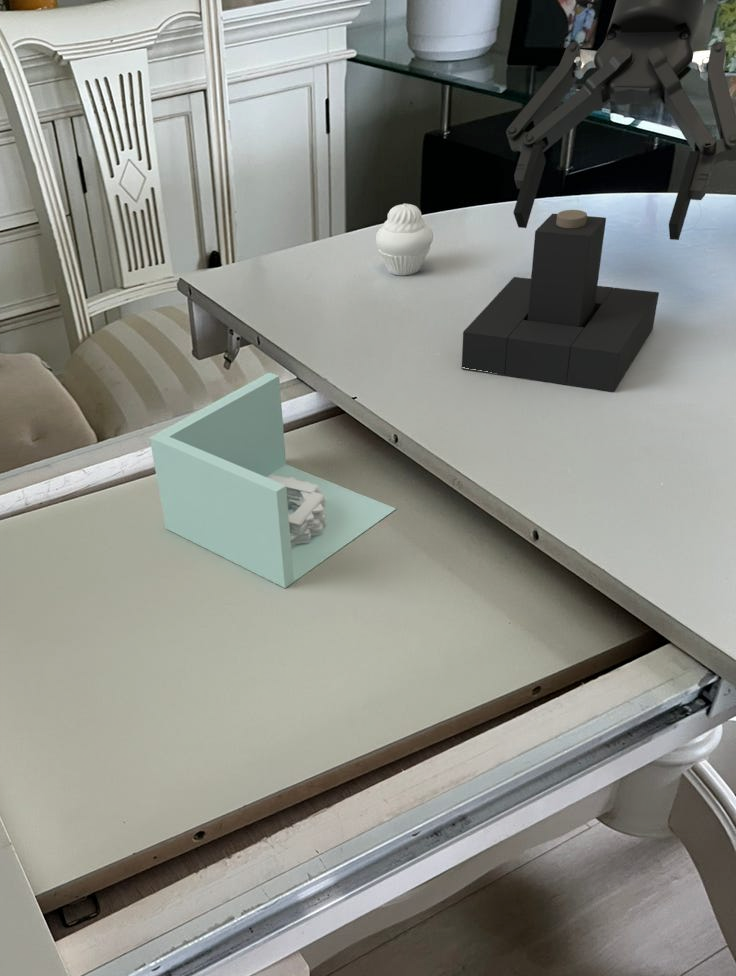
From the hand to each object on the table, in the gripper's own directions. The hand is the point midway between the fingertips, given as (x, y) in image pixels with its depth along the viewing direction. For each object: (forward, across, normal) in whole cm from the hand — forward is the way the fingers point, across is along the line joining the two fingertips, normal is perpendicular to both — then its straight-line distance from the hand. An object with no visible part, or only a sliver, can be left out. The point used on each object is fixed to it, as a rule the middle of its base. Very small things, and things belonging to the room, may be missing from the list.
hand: (594, 226), depth 89 cm
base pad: (+11, 0, +1) cm, 11 cm away
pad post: (+11, 0, +1) cm, 11 cm away
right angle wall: (+35, -11, -23) cm, 43 cm away
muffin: (+1, -21, +11) cm, 24 cm away
